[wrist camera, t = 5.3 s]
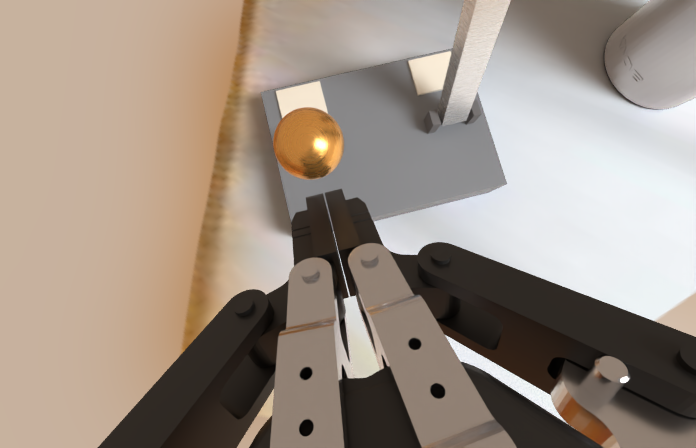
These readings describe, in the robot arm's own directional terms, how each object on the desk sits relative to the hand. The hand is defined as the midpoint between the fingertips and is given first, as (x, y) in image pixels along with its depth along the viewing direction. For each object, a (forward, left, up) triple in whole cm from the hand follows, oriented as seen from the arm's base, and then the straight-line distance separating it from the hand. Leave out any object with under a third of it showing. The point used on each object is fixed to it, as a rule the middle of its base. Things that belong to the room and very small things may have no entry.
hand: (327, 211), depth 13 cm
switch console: (-6, -7, -14) cm, 16 cm away
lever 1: (0, -7, -10) cm, 12 cm away
